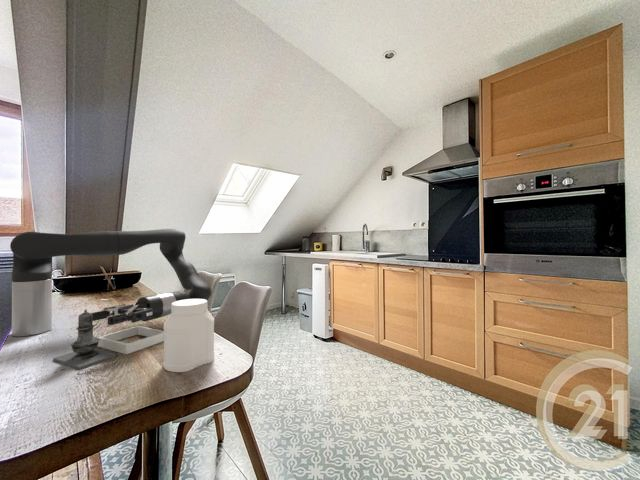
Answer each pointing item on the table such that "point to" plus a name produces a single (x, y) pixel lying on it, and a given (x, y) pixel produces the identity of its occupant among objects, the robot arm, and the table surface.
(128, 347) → the frame
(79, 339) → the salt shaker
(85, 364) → the rubber mat
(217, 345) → the table surface
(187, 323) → the jar
